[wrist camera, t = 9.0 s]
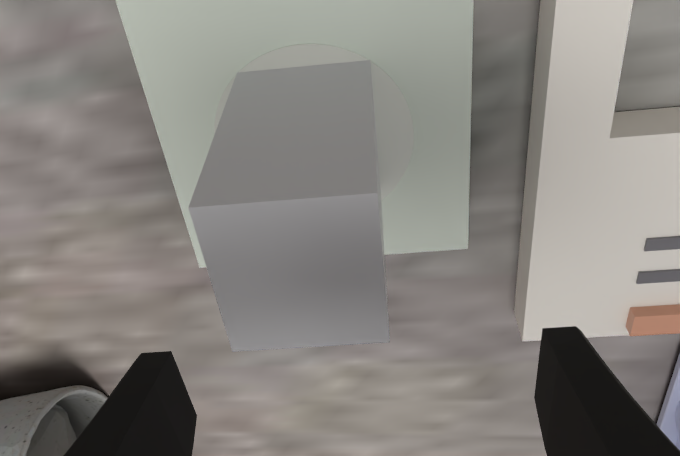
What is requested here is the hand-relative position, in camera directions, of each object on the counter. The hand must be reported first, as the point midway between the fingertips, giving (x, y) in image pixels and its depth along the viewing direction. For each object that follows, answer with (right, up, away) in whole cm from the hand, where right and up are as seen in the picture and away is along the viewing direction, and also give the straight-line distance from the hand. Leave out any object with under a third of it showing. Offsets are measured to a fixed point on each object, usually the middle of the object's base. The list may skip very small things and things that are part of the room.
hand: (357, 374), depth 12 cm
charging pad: (-1, +6, +8) cm, 10 cm away
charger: (-1, +6, +8) cm, 10 cm away
